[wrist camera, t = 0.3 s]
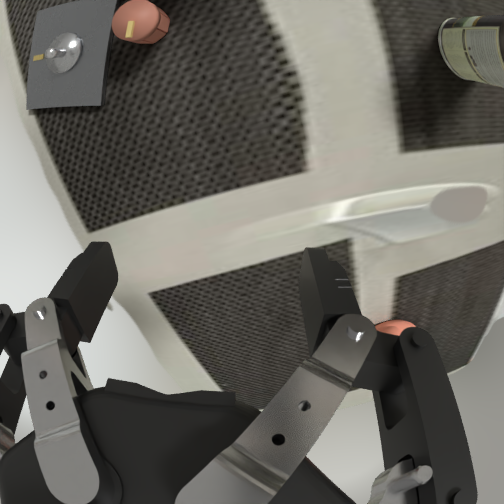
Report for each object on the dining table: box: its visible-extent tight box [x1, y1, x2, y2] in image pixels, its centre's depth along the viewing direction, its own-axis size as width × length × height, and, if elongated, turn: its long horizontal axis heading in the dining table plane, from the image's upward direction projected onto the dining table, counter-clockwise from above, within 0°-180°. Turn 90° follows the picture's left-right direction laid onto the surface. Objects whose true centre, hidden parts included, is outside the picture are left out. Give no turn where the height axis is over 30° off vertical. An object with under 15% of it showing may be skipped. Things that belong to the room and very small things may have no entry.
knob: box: [112, 0, 170, 44], centre depth 23 cm, size 5×5×6 cm
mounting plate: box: [27, 0, 121, 110], centre depth 24 cm, size 16×14×5 cm
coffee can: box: [438, 15, 504, 88], centre depth 19 cm, size 10×10×14 cm
